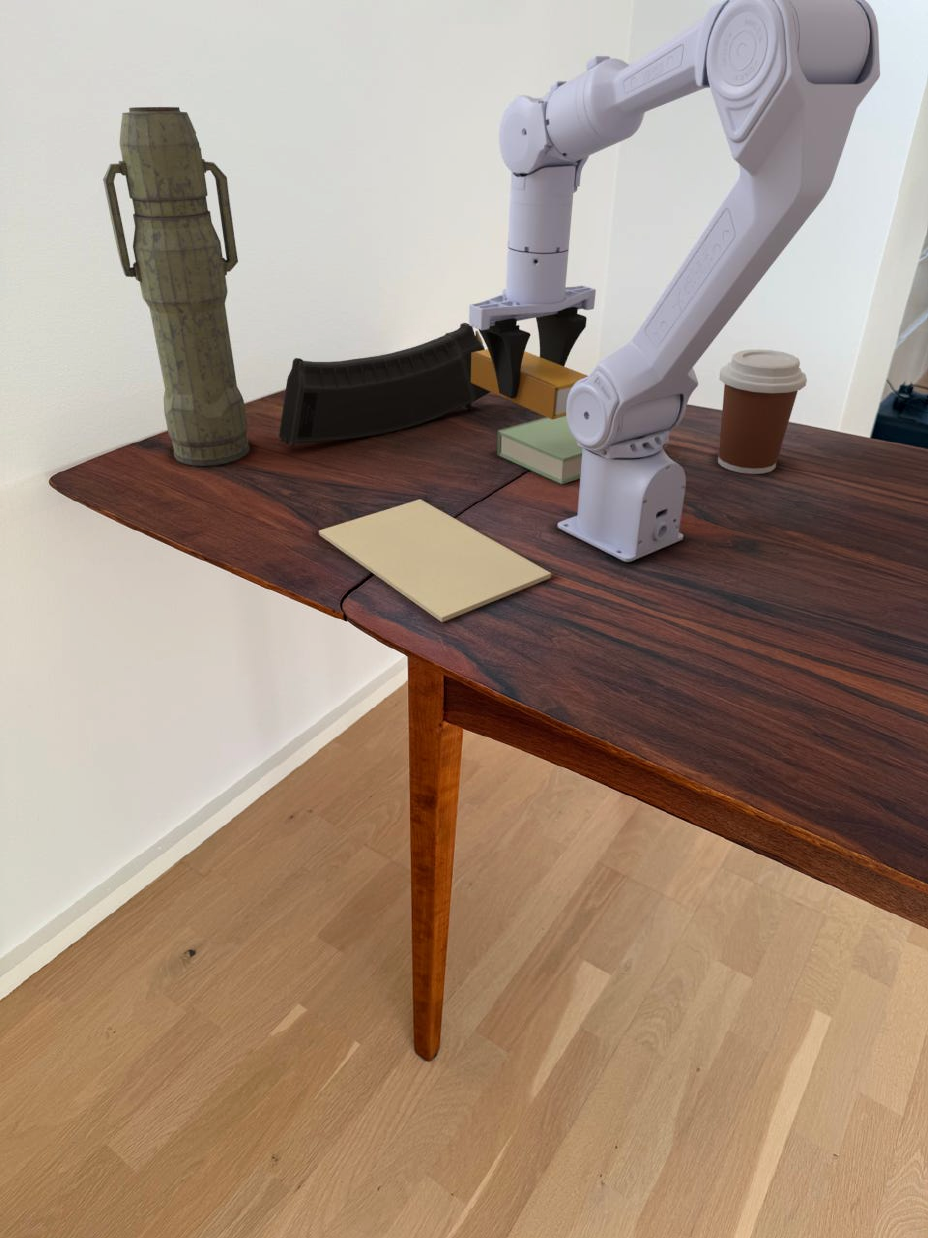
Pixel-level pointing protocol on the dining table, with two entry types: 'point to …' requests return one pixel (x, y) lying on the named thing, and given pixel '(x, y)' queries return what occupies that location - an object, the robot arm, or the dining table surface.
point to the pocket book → (530, 382)
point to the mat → (434, 558)
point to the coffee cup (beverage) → (757, 408)
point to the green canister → (182, 279)
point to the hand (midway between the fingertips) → (528, 389)
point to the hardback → (543, 448)
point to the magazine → (380, 390)
